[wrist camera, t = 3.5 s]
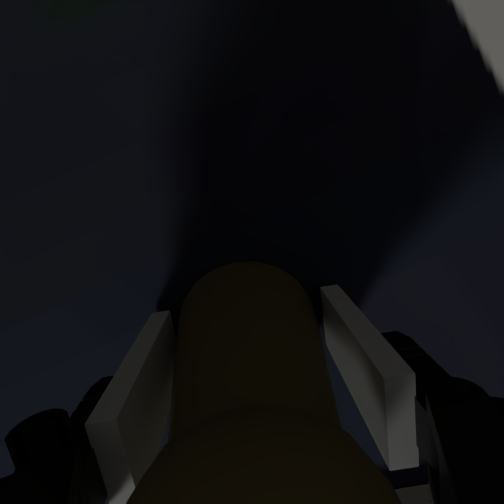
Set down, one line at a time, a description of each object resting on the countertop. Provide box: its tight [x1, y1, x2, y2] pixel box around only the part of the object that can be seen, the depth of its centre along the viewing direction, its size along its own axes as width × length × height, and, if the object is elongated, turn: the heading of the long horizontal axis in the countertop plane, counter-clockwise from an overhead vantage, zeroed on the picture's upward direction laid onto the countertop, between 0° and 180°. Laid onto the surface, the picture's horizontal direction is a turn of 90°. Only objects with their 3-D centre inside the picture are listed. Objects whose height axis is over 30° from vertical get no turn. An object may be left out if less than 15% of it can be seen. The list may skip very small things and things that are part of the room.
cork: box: [126, 261, 402, 504], centre depth 10 cm, size 6×6×11 cm
